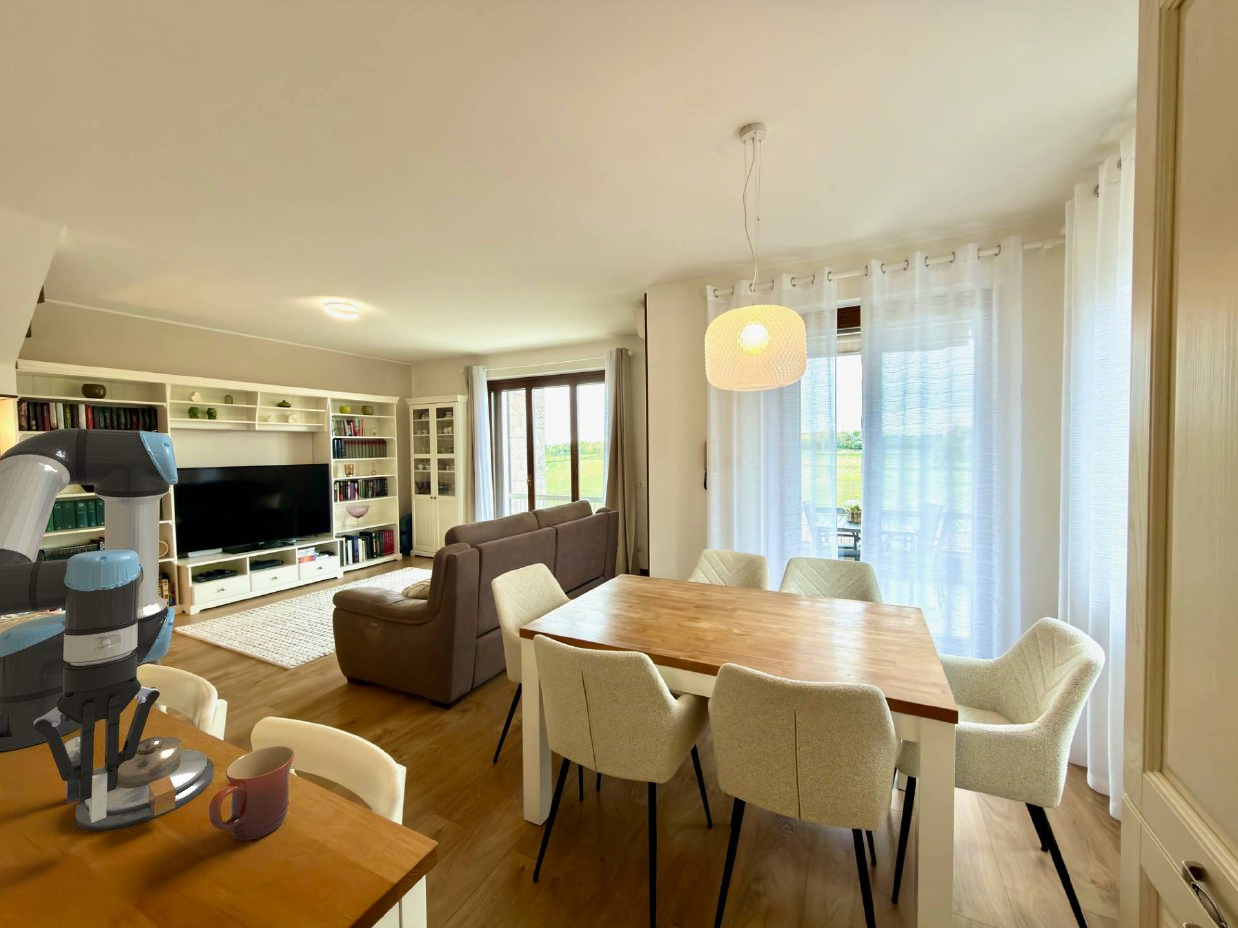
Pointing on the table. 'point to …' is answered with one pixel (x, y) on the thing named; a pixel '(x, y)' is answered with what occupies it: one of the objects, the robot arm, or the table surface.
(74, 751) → the dial stand
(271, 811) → the mug
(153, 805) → the turntable
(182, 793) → the turntable base
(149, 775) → the cover
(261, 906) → the table surface
